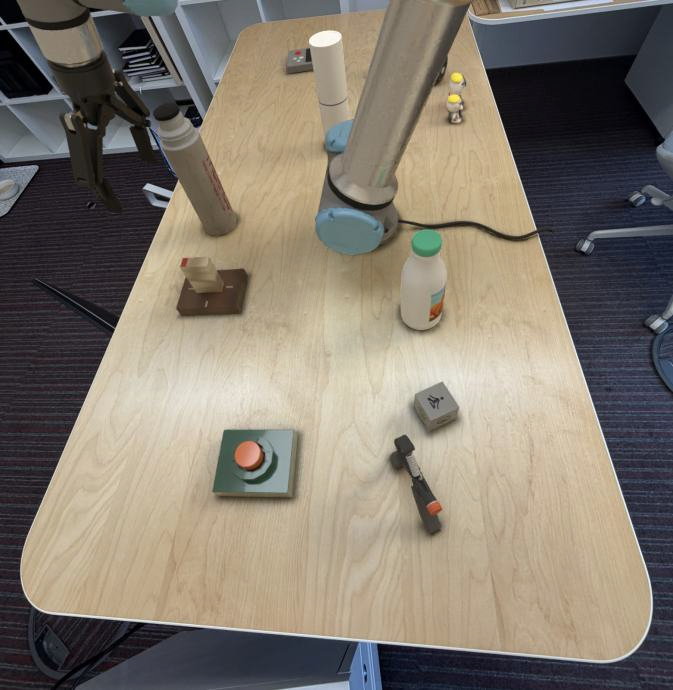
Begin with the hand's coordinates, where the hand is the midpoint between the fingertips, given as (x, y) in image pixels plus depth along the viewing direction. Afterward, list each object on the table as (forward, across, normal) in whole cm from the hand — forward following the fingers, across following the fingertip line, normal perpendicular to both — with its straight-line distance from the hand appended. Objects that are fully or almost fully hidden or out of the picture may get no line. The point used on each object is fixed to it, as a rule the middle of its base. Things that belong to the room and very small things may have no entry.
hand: (133, 185), depth 74 cm
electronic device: (+20, -90, +10) cm, 93 cm away
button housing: (+18, +39, +34) cm, 54 cm away
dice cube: (+12, +25, +61) cm, 67 cm away
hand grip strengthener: (+13, +38, +59) cm, 72 cm away
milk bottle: (+13, +5, +56) cm, 58 cm away
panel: (+21, +6, +13) cm, 25 cm away
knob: (+18, +6, +13) cm, 23 cm away
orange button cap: (+13, +39, +33) cm, 53 cm away
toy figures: (+11, -62, +57) cm, 85 cm away
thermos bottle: (+22, -15, +7) cm, 28 cm away
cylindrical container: (+17, -47, +29) cm, 58 cm away
